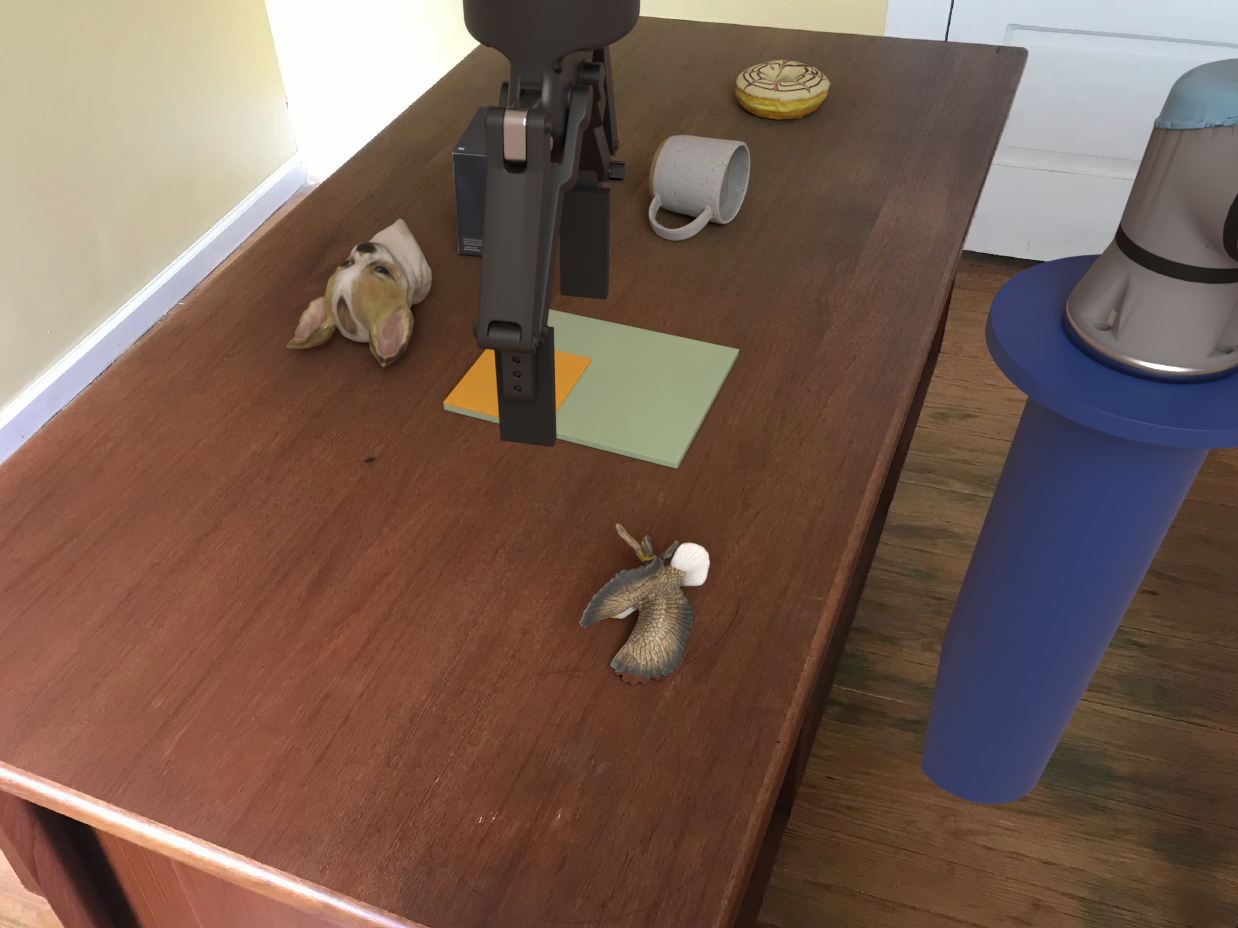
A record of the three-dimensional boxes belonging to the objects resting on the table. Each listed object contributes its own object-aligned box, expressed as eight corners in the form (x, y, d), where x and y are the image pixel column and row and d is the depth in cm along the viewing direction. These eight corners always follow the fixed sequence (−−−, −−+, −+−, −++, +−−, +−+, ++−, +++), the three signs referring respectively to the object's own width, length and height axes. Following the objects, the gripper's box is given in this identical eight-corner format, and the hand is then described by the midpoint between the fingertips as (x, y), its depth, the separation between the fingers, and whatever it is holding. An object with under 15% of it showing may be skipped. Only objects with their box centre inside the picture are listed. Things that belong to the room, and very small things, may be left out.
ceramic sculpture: (453, 209, 96) (378, 309, 87) (464, 293, 102) (396, 394, 93) (345, 194, 99) (262, 289, 90) (362, 277, 105) (287, 373, 96)
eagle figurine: (582, 558, 75) (550, 638, 68) (644, 492, 71) (617, 570, 64) (669, 622, 76) (647, 707, 69) (736, 560, 72) (720, 645, 65)
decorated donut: (832, 90, 130) (837, 58, 128) (818, 128, 123) (824, 95, 121) (744, 82, 133) (748, 50, 130) (726, 119, 126) (729, 86, 123)
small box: (521, 261, 106) (516, 157, 99) (456, 256, 107) (447, 153, 100) (544, 208, 113) (541, 108, 106) (483, 204, 115) (476, 104, 107)
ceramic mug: (674, 187, 115) (678, 115, 110) (748, 203, 112) (755, 130, 106) (628, 234, 109) (630, 160, 103) (704, 253, 106) (710, 178, 100)
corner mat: (738, 355, 93) (739, 347, 93) (677, 469, 83) (677, 461, 83) (524, 309, 100) (524, 301, 100) (443, 410, 90) (443, 402, 89)
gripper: (532, -153, 54) (544, 240, 69) (356, 38, 37) (422, 504, 52) (686, -152, 52) (663, 250, 67) (575, 49, 35) (578, 526, 50)
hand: (558, 361), depth 60 cm, fingers open, 13 cm apart
